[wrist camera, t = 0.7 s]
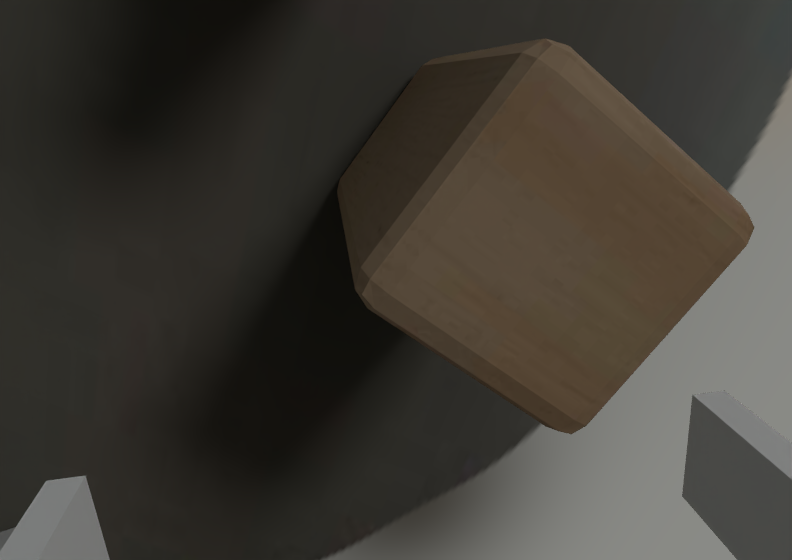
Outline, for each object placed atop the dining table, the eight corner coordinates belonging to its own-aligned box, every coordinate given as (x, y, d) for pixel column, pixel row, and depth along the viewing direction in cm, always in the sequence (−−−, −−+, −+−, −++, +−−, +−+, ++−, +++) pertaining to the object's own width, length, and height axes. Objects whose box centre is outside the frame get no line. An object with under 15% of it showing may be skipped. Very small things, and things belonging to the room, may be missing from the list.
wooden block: (454, 279, 40) (576, 455, 21) (329, 189, 37) (343, 302, 18) (552, 155, 38) (780, 227, 20) (429, 51, 36) (557, 19, 17)
